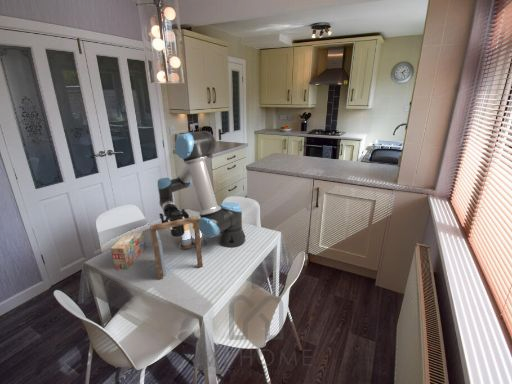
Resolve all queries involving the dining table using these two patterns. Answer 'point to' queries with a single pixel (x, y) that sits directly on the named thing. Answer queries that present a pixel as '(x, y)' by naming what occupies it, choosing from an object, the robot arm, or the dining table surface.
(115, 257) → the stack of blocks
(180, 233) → the supplement bottle
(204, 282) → the dining table surface
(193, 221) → the door frame
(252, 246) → the dining table surface
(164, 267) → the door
